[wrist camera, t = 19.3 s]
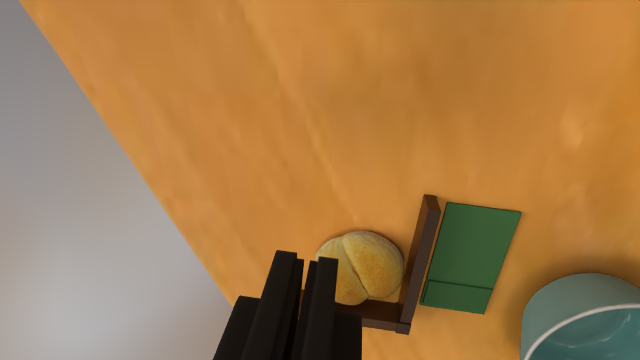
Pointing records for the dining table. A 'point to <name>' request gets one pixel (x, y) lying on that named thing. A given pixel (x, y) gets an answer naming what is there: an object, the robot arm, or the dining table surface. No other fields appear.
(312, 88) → the dining table surface
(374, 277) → the bread roll
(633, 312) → the bowl
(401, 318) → the corner guide
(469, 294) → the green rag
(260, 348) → the robot arm
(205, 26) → the dining table surface
